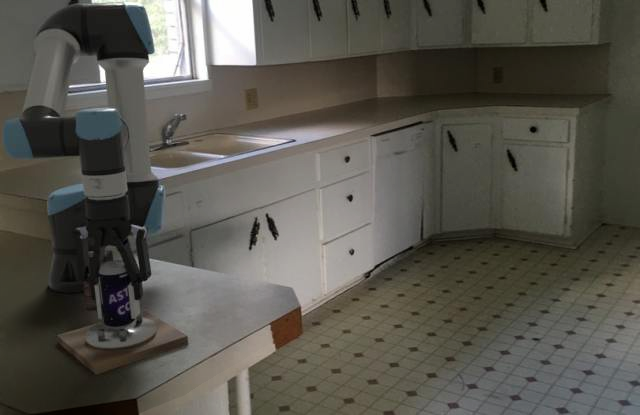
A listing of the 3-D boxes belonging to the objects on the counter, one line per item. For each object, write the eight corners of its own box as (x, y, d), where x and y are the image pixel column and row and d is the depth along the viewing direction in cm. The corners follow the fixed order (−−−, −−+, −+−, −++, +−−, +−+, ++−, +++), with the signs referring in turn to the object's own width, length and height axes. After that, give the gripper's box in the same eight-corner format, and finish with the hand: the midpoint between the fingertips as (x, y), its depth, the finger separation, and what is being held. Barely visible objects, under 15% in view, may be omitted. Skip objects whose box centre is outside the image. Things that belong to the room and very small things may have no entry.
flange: (74, 335, 129) (72, 320, 129) (138, 316, 138) (136, 302, 137) (102, 357, 120) (101, 341, 119) (169, 335, 128) (167, 320, 127)
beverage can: (109, 333, 124) (102, 271, 121) (100, 323, 129) (93, 263, 126) (140, 325, 127) (133, 264, 124) (130, 316, 132) (123, 257, 129)
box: (118, 301, 150) (113, 249, 147) (112, 309, 146) (106, 255, 143) (91, 302, 150) (85, 250, 147) (84, 310, 146) (78, 256, 143)
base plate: (57, 342, 130) (56, 335, 130) (144, 316, 141) (143, 309, 141) (95, 374, 117) (94, 366, 116) (188, 343, 128) (187, 335, 128)
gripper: (46, 200, 119) (62, 323, 125) (150, 199, 118) (161, 323, 123) (65, 191, 127) (79, 308, 132) (163, 190, 125) (173, 308, 131)
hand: (119, 315), depth 128 cm, fingers closed on beverage can, 6 cm apart
